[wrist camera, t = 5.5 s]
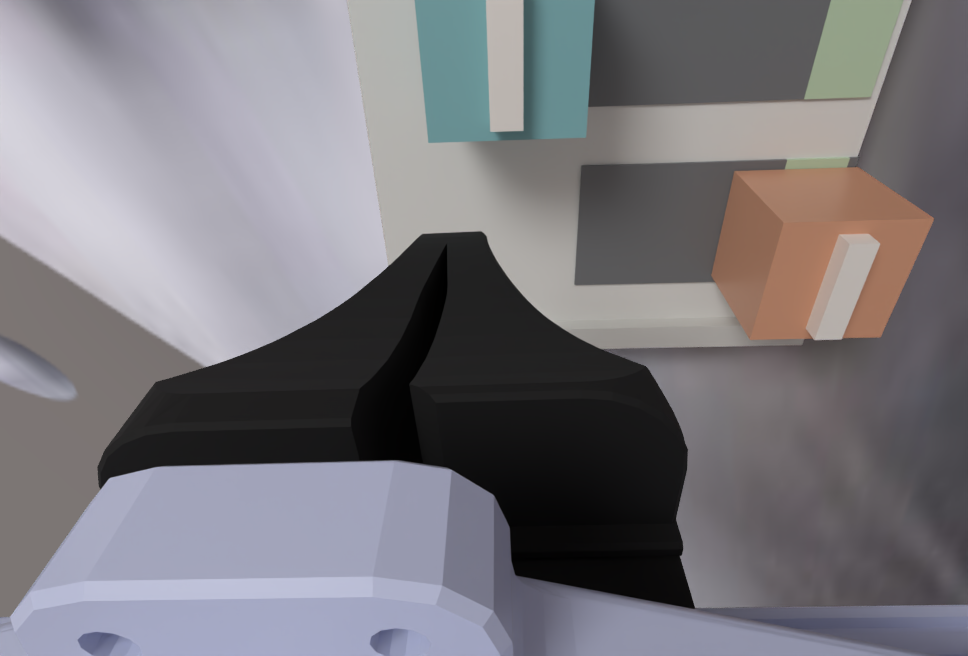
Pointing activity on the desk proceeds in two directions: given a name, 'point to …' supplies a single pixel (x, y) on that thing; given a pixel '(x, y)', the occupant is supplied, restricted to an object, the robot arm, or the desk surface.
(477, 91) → the teal handled block
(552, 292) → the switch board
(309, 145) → the desk surface
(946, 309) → the desk surface
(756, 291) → the orange block with handle
